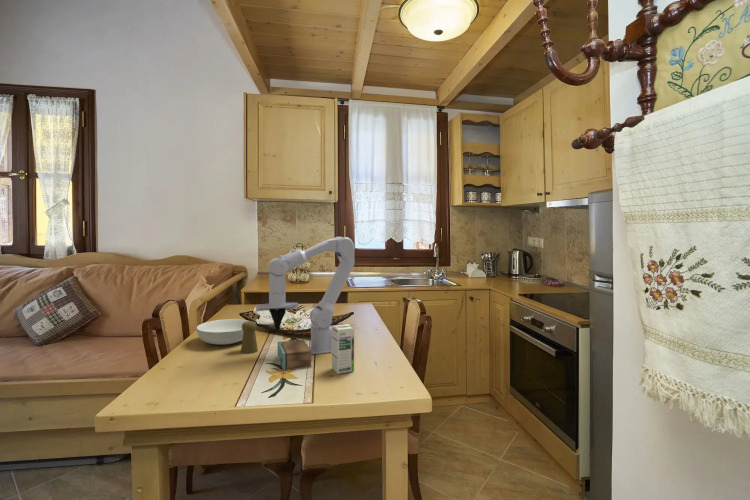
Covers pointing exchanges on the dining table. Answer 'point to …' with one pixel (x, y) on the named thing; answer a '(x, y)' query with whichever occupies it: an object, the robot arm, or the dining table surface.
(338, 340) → the syrup box
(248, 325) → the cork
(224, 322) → the serving bowl
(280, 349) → the teal door
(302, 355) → the walnut cabinet
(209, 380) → the dining table surface
